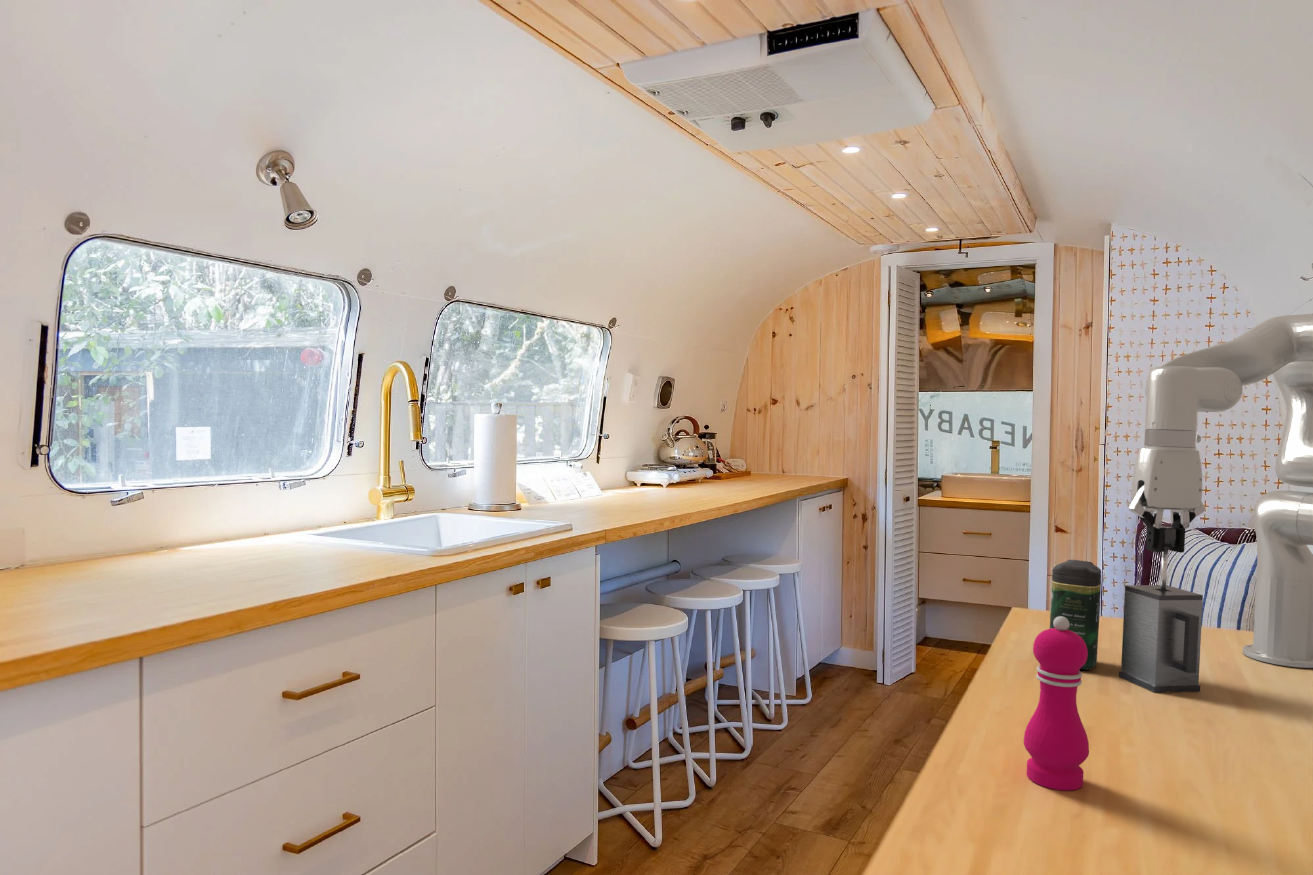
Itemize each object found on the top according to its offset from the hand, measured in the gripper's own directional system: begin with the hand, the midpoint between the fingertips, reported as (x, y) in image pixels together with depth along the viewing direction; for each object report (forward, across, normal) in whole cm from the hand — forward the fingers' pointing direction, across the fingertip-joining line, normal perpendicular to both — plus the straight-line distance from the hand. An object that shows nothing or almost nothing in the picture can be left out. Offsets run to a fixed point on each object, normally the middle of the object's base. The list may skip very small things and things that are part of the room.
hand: (1165, 550), depth 146 cm
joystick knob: (+10, 0, 0) cm, 10 cm away
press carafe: (+23, 0, +1) cm, 23 cm away
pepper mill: (+23, +42, +34) cm, 59 cm away
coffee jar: (+23, +8, -12) cm, 27 cm away
